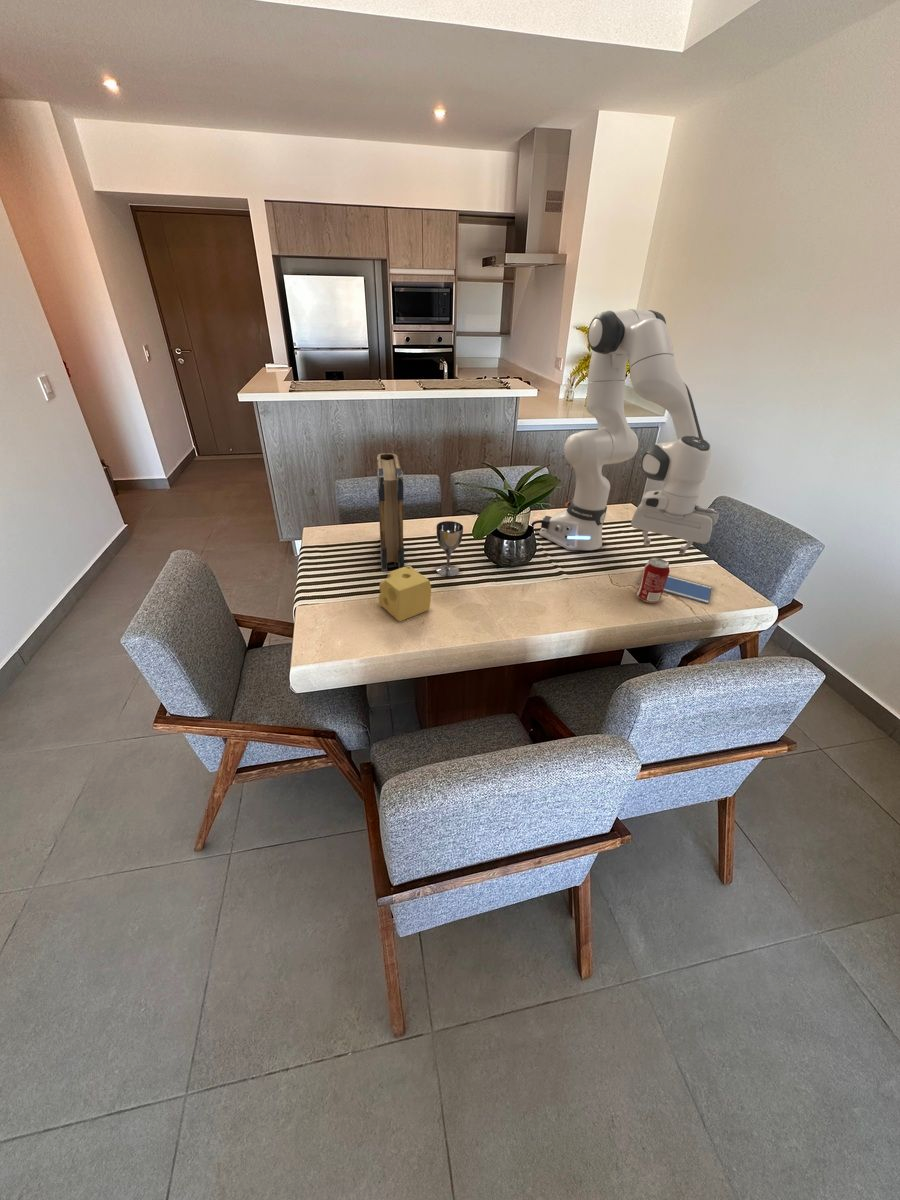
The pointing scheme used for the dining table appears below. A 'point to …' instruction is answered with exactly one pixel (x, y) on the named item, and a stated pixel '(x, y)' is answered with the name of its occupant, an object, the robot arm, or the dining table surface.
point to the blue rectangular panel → (687, 589)
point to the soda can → (653, 580)
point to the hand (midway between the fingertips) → (663, 549)
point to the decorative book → (390, 509)
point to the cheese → (405, 593)
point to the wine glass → (449, 544)
